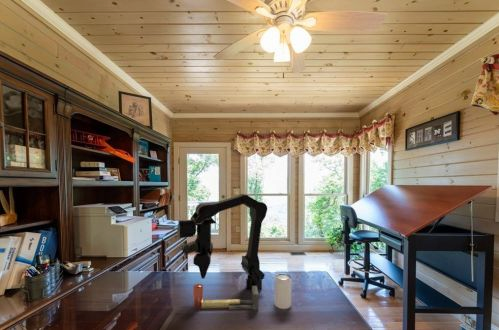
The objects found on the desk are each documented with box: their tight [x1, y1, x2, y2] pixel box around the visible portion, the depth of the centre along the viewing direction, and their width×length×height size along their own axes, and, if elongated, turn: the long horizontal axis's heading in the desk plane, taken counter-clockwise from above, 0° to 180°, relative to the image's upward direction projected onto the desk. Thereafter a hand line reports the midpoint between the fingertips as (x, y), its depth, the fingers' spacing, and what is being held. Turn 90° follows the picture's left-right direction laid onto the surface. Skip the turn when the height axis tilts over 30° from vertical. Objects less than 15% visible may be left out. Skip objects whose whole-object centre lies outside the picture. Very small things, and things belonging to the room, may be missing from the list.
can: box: [273, 273, 292, 310], centre depth 98 cm, size 6×6×12 cm
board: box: [228, 286, 259, 312], centre depth 96 cm, size 27×11×7 cm, turn 93°
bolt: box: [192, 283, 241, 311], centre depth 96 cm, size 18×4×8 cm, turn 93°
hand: (204, 273), depth 101 cm, fingers open, 9 cm apart
